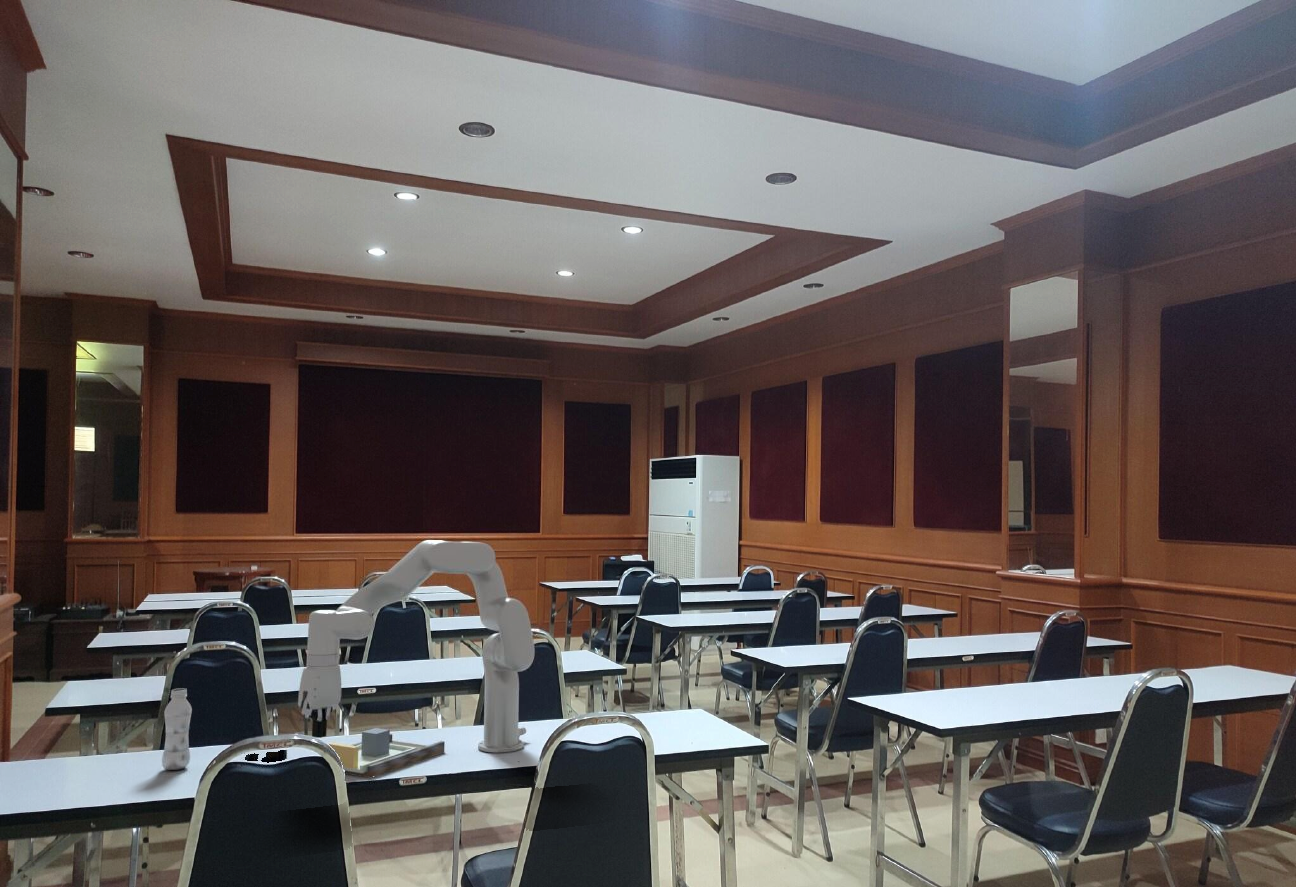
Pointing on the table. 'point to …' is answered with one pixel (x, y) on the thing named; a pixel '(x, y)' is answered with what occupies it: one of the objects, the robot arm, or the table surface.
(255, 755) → the end cap
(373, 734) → the slate block
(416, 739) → the table surface
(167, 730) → the plastic bottle
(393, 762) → the guide base
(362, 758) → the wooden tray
